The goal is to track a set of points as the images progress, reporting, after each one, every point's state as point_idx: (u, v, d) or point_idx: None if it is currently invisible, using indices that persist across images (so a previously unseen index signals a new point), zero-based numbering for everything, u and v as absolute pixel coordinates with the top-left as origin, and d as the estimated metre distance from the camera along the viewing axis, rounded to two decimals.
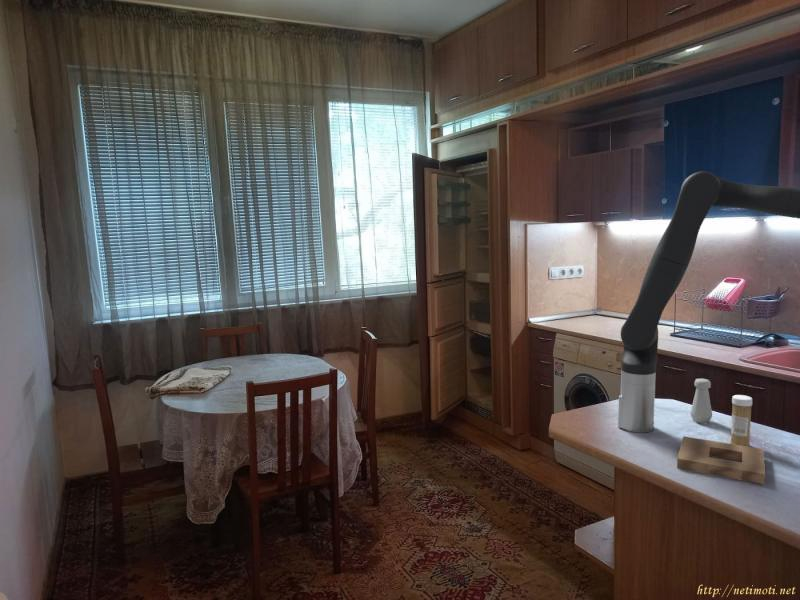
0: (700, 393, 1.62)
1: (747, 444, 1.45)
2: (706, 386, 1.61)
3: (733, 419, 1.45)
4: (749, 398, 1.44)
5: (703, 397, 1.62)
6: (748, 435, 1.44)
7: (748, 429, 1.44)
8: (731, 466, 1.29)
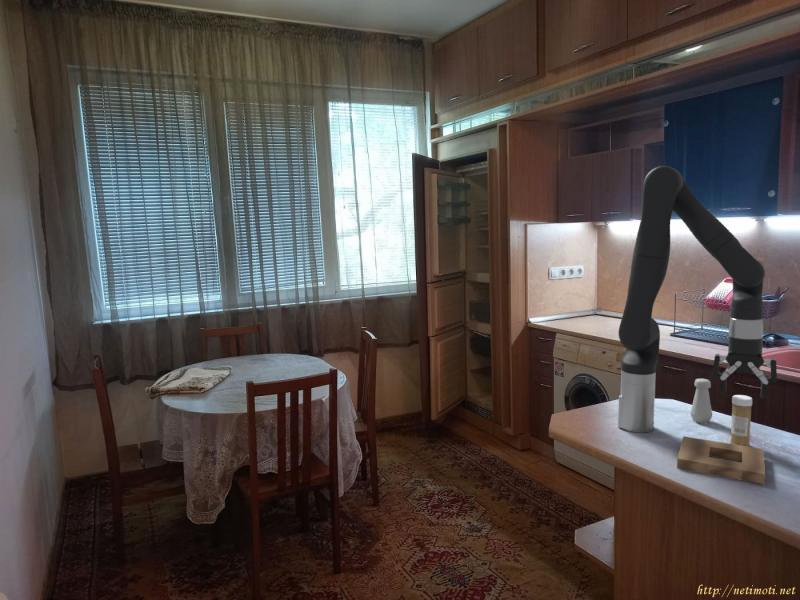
0: (700, 393, 1.62)
1: (747, 444, 1.45)
2: (706, 386, 1.61)
3: (733, 419, 1.45)
4: (749, 398, 1.44)
5: (703, 397, 1.62)
6: (748, 435, 1.44)
7: (748, 429, 1.44)
8: (731, 466, 1.29)
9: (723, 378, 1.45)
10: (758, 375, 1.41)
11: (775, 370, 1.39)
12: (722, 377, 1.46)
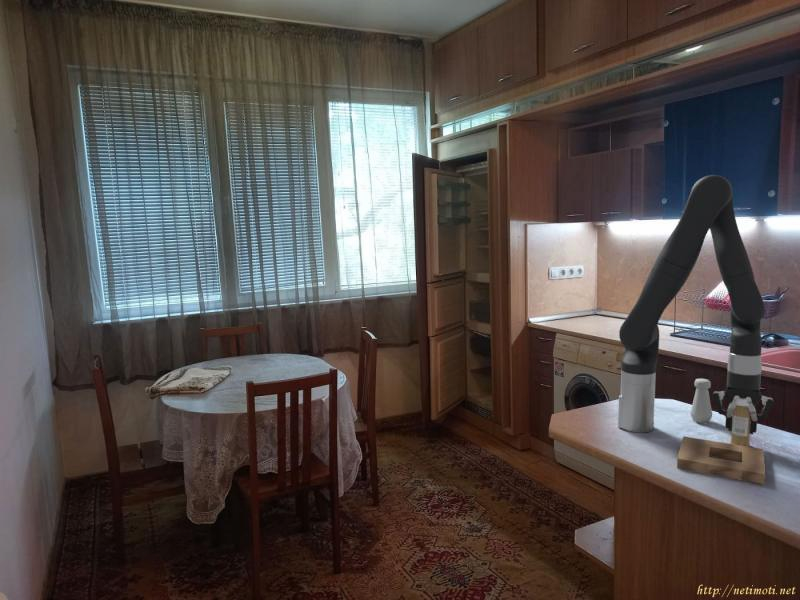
0: (700, 393, 1.62)
1: (747, 444, 1.45)
2: (706, 386, 1.61)
3: (733, 419, 1.45)
4: None
5: (703, 397, 1.62)
6: (748, 435, 1.44)
7: (748, 429, 1.44)
8: (731, 466, 1.29)
9: (729, 416, 1.46)
10: (751, 411, 1.43)
11: (768, 409, 1.41)
12: (728, 415, 1.46)
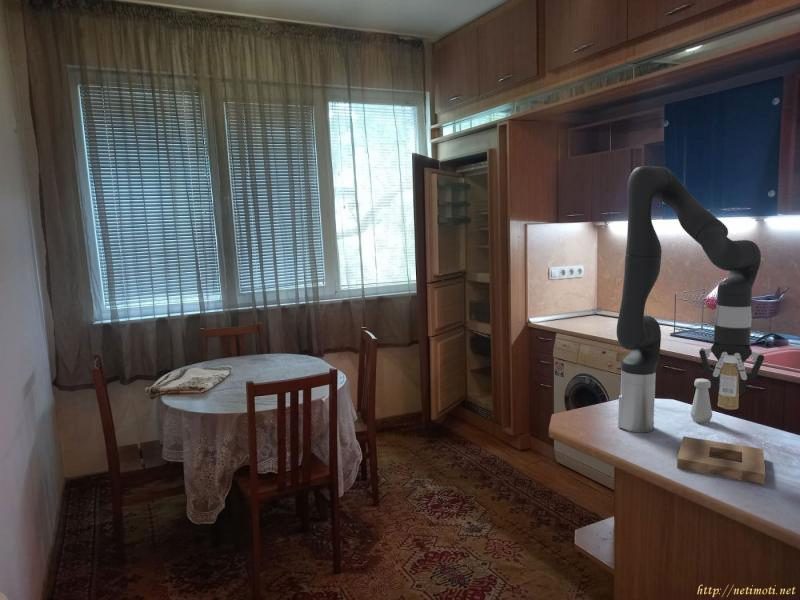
0: (699, 393, 1.62)
1: (736, 405, 1.32)
2: (706, 386, 1.61)
3: (721, 379, 1.32)
4: None
5: (703, 397, 1.62)
6: (737, 395, 1.32)
7: (737, 389, 1.31)
8: (731, 466, 1.29)
9: (716, 375, 1.33)
10: (740, 369, 1.30)
11: (759, 366, 1.28)
12: (715, 374, 1.33)
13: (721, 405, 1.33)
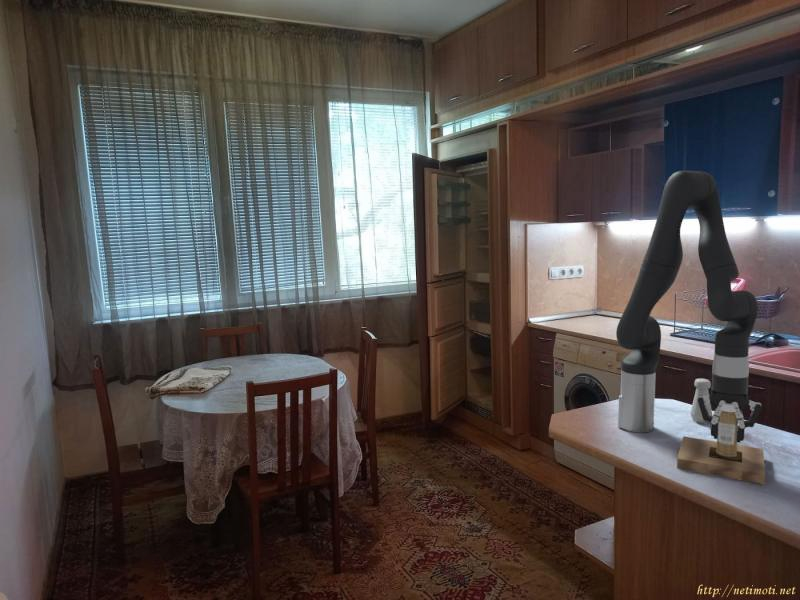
0: (700, 393, 1.62)
1: (734, 453, 1.33)
2: (706, 386, 1.61)
3: (719, 427, 1.34)
4: None
5: None
6: (735, 443, 1.33)
7: (735, 437, 1.33)
8: (731, 466, 1.29)
9: (714, 422, 1.35)
10: (738, 417, 1.31)
11: (756, 415, 1.30)
12: (713, 421, 1.35)
13: (719, 452, 1.34)
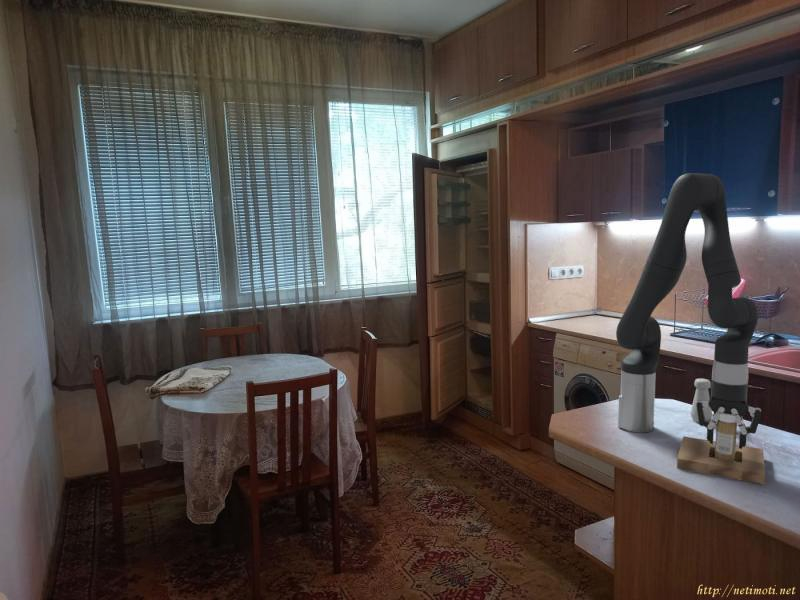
0: (700, 393, 1.62)
1: None
2: (706, 386, 1.61)
3: (718, 436, 1.34)
4: None
5: (703, 397, 1.62)
6: (733, 453, 1.33)
7: (733, 447, 1.33)
8: (731, 466, 1.29)
9: (710, 427, 1.35)
10: (738, 424, 1.31)
11: (757, 421, 1.30)
12: (709, 426, 1.35)
13: None
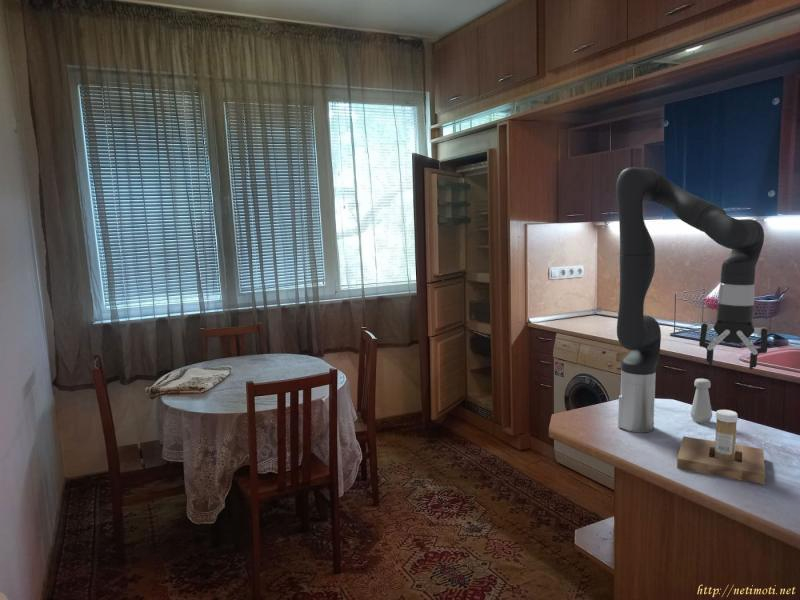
0: (699, 393, 1.62)
1: None
2: (706, 386, 1.61)
3: (717, 436, 1.34)
4: (734, 413, 1.33)
5: (703, 397, 1.62)
6: (733, 453, 1.33)
7: (733, 447, 1.33)
8: (731, 466, 1.29)
9: (710, 348, 1.36)
10: (747, 345, 1.31)
11: (766, 339, 1.29)
12: (709, 347, 1.36)
13: None
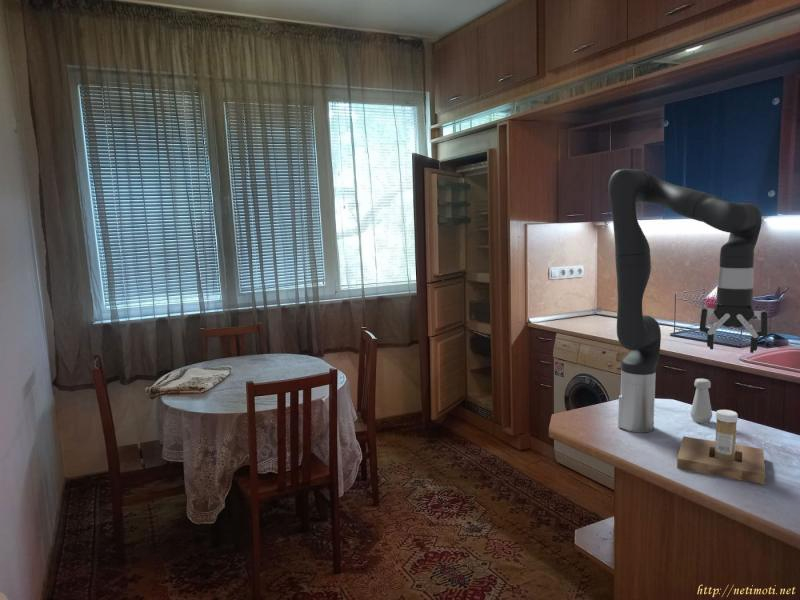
0: (700, 393, 1.62)
1: None
2: (706, 386, 1.61)
3: (717, 436, 1.34)
4: (734, 413, 1.33)
5: (703, 397, 1.62)
6: (733, 453, 1.33)
7: (733, 447, 1.33)
8: (731, 466, 1.29)
9: (710, 332, 1.36)
10: (747, 328, 1.31)
11: (766, 322, 1.30)
12: (709, 331, 1.36)
13: None
